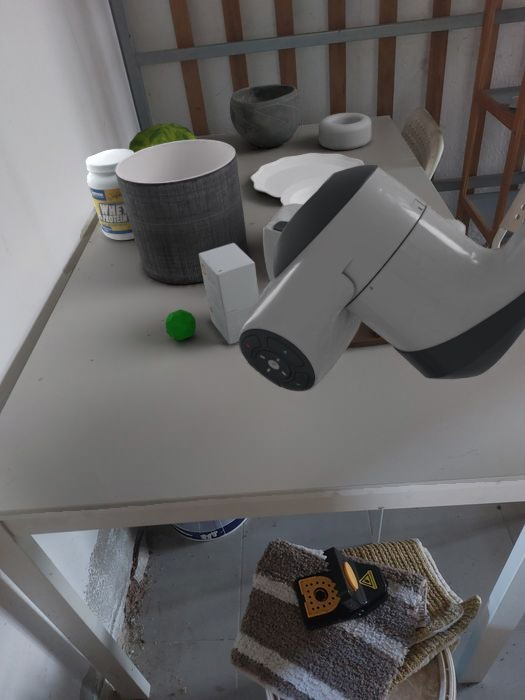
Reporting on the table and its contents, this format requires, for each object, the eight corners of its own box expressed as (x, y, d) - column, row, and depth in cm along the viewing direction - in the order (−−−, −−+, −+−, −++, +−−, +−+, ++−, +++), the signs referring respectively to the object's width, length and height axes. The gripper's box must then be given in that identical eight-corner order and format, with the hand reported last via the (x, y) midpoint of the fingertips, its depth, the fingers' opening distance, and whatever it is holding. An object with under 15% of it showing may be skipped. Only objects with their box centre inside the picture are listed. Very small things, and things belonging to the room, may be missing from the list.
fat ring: (381, 139, 151) (382, 115, 147) (348, 155, 144) (348, 130, 140) (341, 131, 160) (341, 108, 156) (308, 146, 153) (307, 122, 149)
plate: (306, 218, 115) (305, 208, 114) (229, 187, 134) (228, 178, 133) (393, 178, 128) (394, 168, 127) (312, 154, 147) (312, 145, 146)
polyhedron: (162, 338, 86) (155, 315, 83) (184, 324, 88) (179, 300, 86) (182, 349, 83) (176, 325, 80) (204, 334, 86) (199, 310, 83)
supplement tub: (98, 244, 116) (73, 169, 105) (110, 220, 125) (89, 149, 115) (151, 239, 115) (131, 164, 104) (160, 216, 125) (143, 144, 114)
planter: (159, 298, 96) (131, 194, 83) (131, 250, 112) (103, 157, 99) (266, 263, 102) (255, 161, 89) (225, 223, 118) (210, 131, 105)
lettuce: (224, 141, 138) (162, 102, 135) (207, 155, 118) (134, 109, 115) (195, 199, 147) (135, 164, 144) (174, 222, 126) (105, 181, 123)
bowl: (239, 136, 167) (233, 85, 158) (304, 131, 164) (302, 79, 155) (229, 158, 151) (222, 104, 142) (302, 153, 148) (299, 97, 139)
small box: (264, 332, 84) (255, 262, 76) (229, 345, 83) (216, 275, 74) (244, 308, 90) (234, 241, 82) (210, 320, 88) (196, 253, 80)
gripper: (456, 250, 45) (481, 188, 54) (248, 224, 53) (301, 174, 62) (447, 310, 49) (472, 242, 58) (255, 277, 57) (304, 222, 66)
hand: (382, 207), depth 60 cm, fingers open, 8 cm apart
